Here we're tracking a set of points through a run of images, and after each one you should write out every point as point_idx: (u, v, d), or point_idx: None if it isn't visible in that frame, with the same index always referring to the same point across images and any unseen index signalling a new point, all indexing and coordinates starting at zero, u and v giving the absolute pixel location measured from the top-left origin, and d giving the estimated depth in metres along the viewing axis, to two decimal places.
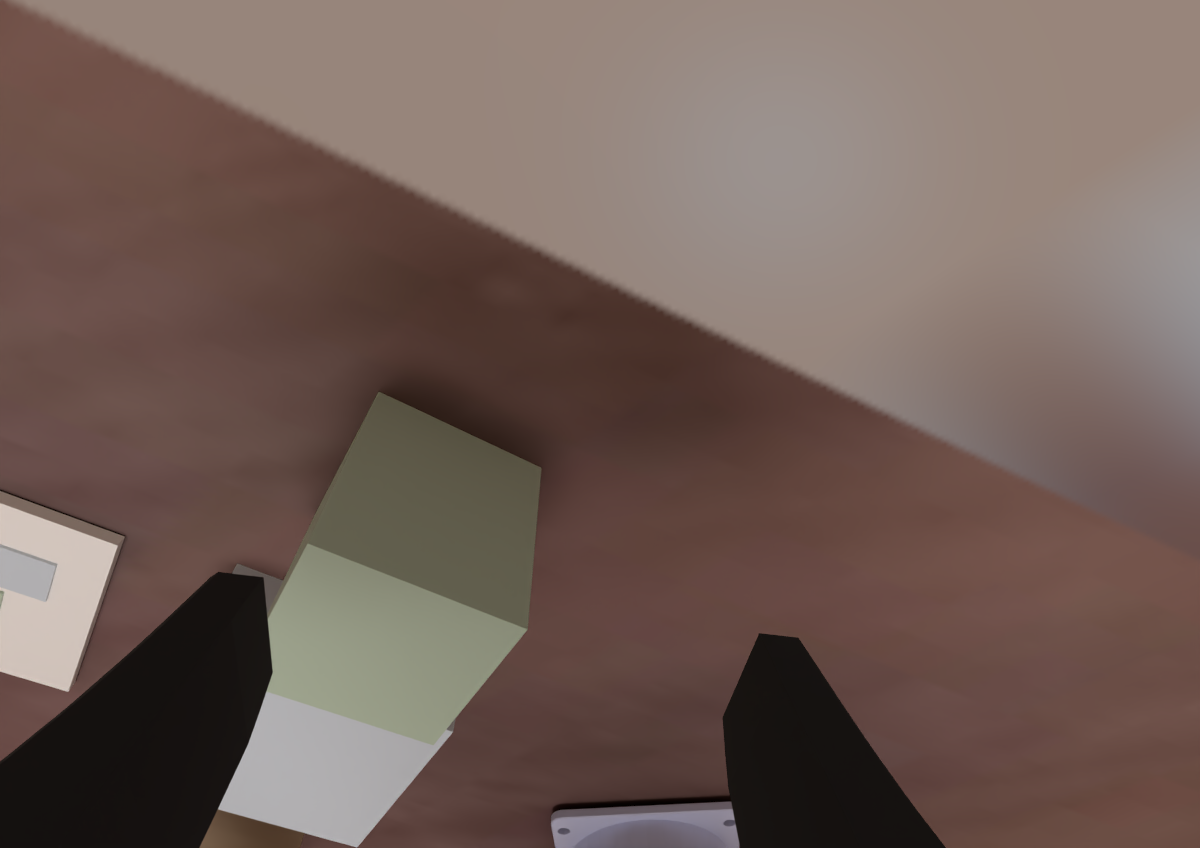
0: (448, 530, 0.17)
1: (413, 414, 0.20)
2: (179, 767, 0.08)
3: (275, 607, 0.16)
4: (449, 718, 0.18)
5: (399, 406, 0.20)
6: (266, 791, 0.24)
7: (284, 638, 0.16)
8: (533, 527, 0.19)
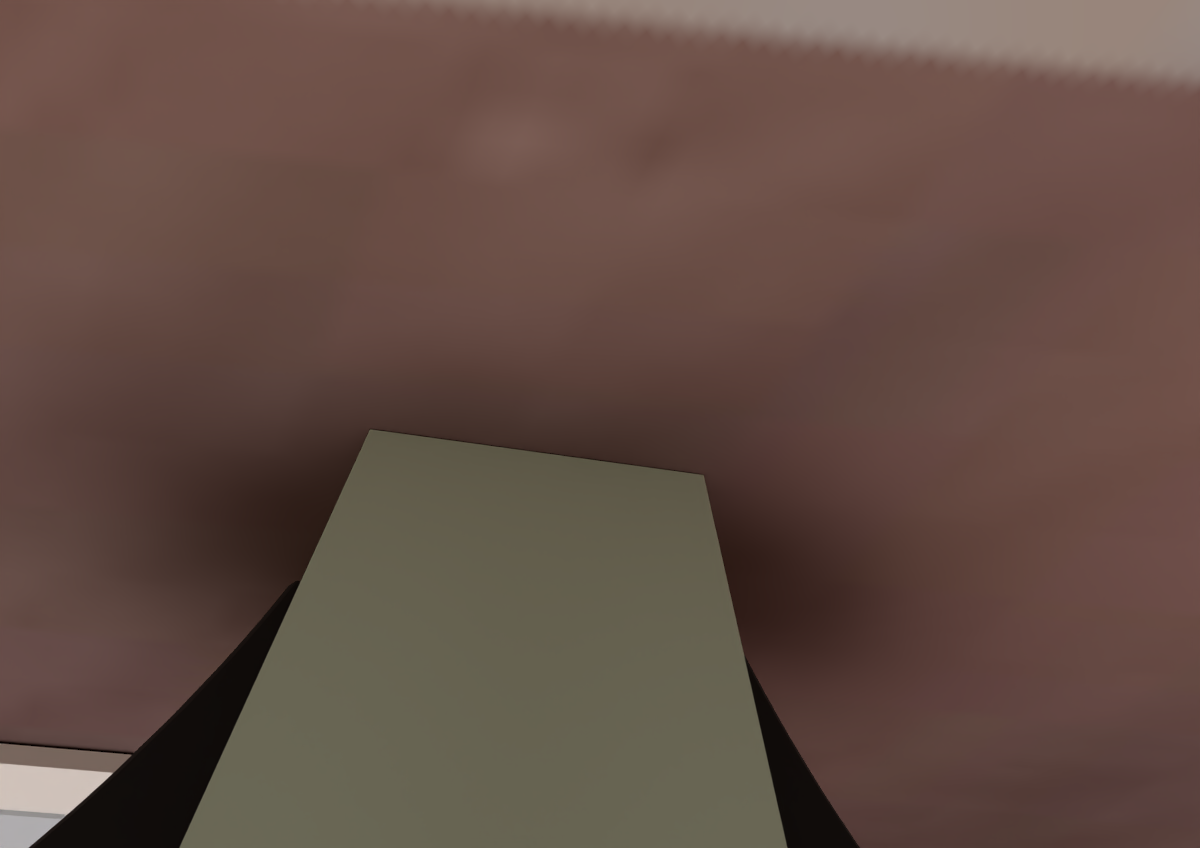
0: (544, 683, 0.07)
1: (440, 452, 0.10)
2: None
3: None
4: None
5: (411, 446, 0.10)
6: None
7: None
8: (726, 606, 0.09)
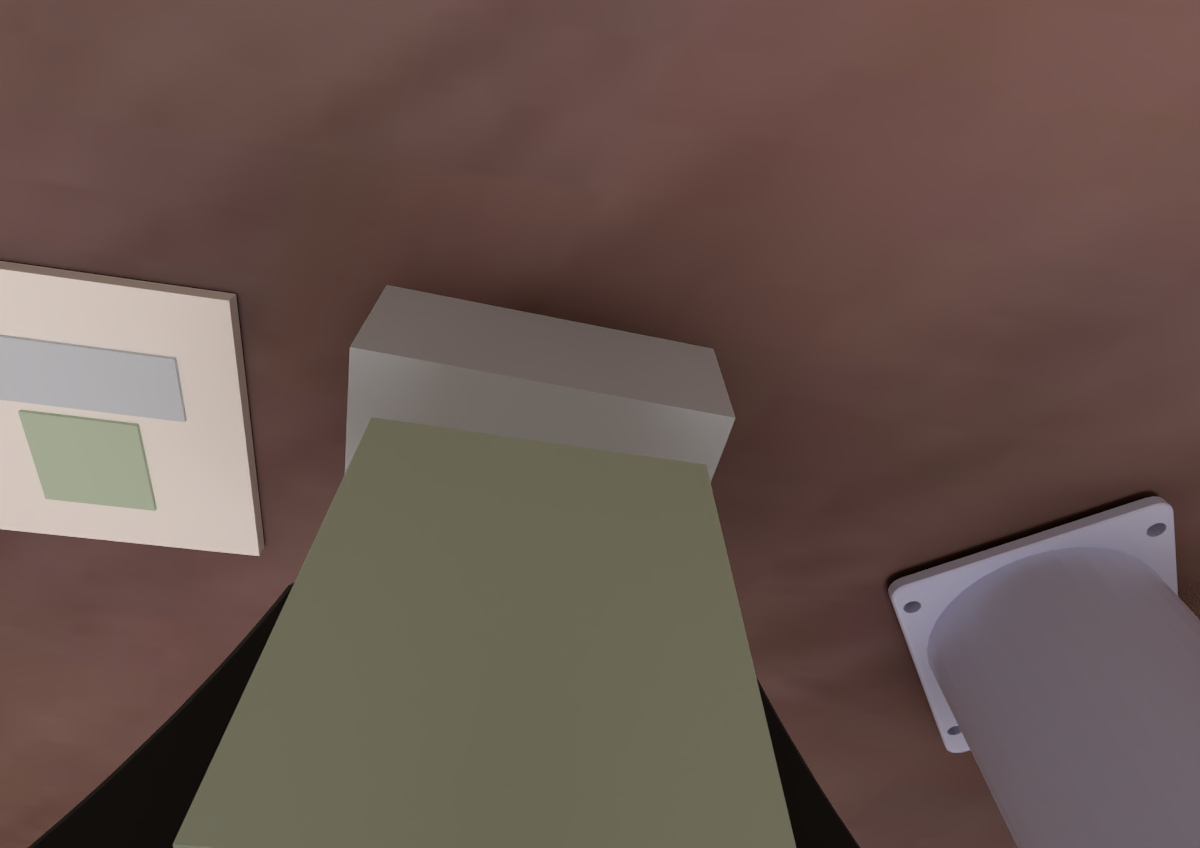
0: (548, 667, 0.07)
1: (442, 440, 0.10)
2: None
3: None
4: None
5: (413, 433, 0.10)
6: None
7: None
8: (730, 594, 0.09)
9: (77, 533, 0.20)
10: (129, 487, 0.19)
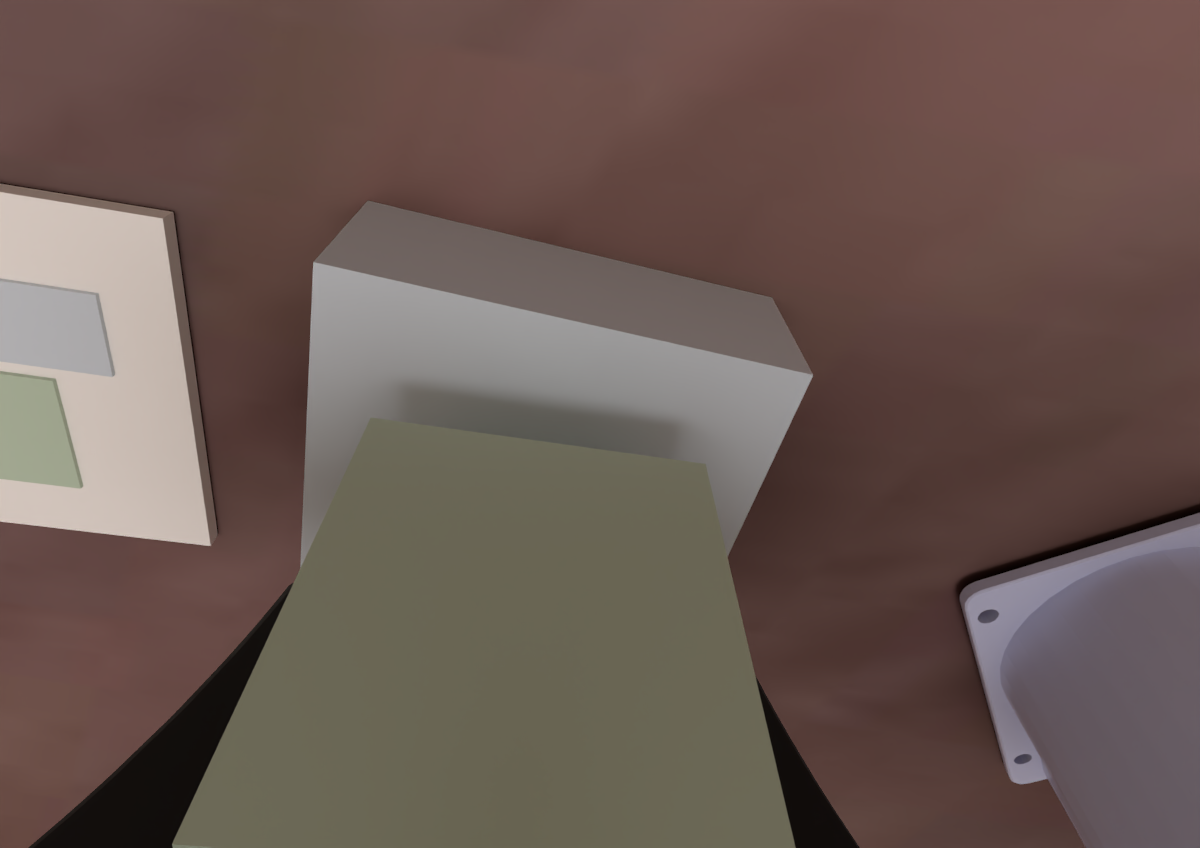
0: (547, 667, 0.07)
1: (441, 440, 0.10)
2: None
3: None
4: None
5: (412, 433, 0.10)
6: None
7: None
8: (728, 593, 0.09)
9: None
10: (48, 458, 0.16)
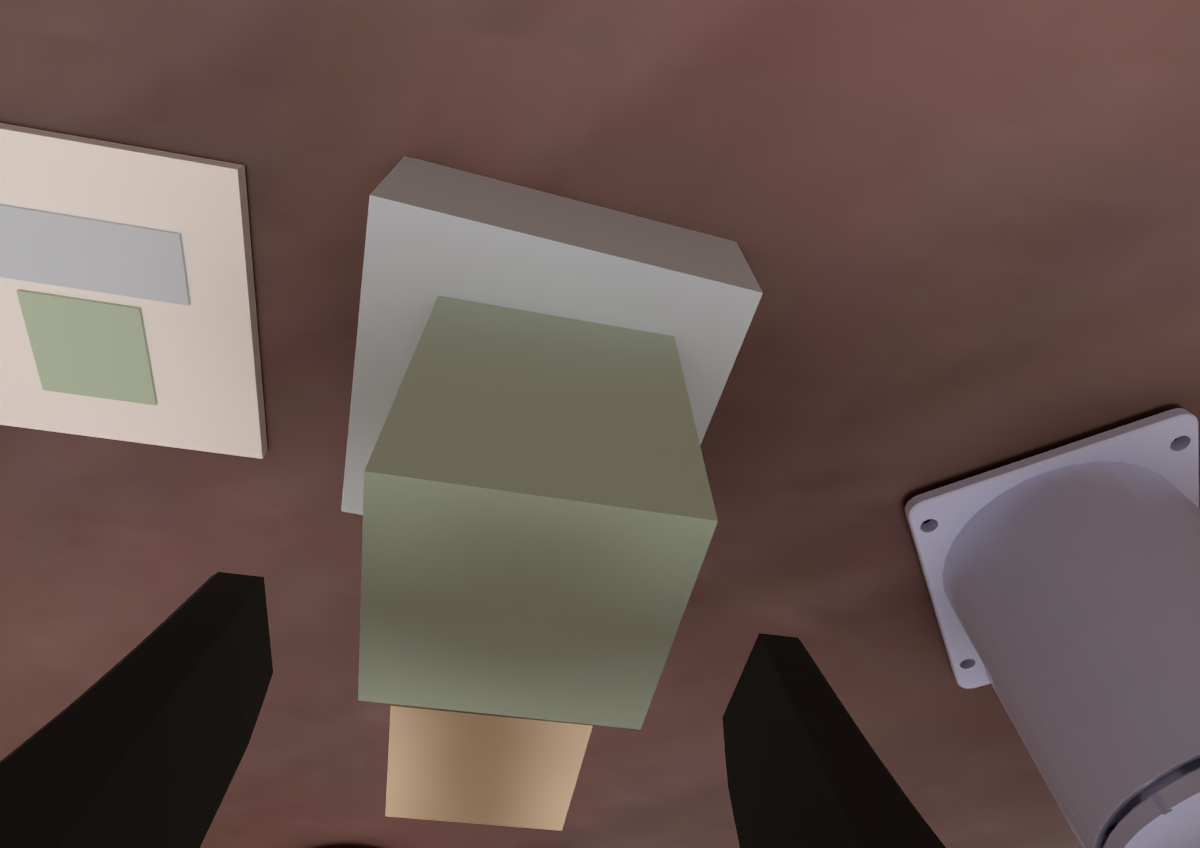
0: (566, 423, 0.12)
1: (488, 311, 0.15)
2: (179, 767, 0.08)
3: (363, 582, 0.11)
4: (649, 686, 0.12)
5: (468, 306, 0.15)
6: None
7: (393, 623, 0.12)
8: (684, 400, 0.13)
9: (75, 430, 0.20)
10: (130, 377, 0.19)
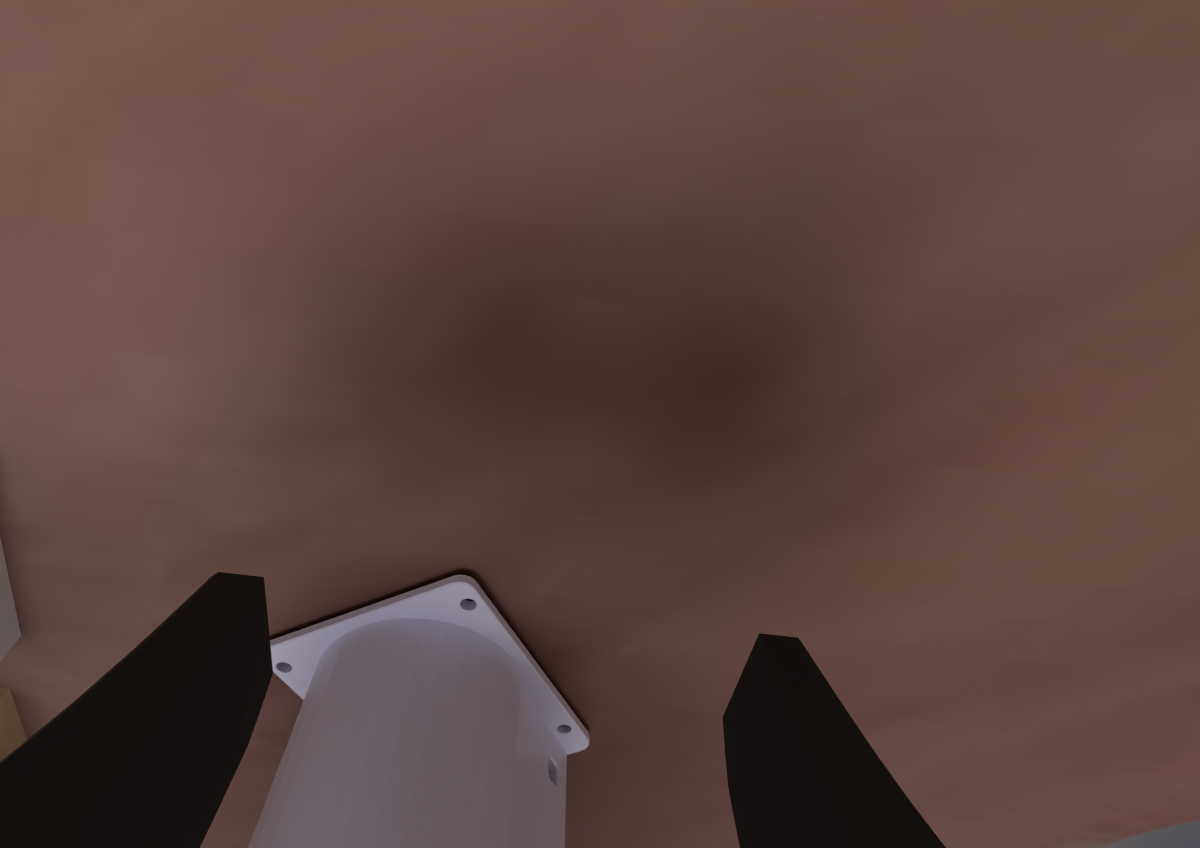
0: None
1: None
2: (179, 767, 0.08)
3: None
4: None
5: None
6: None
7: None
8: None
9: None
10: None
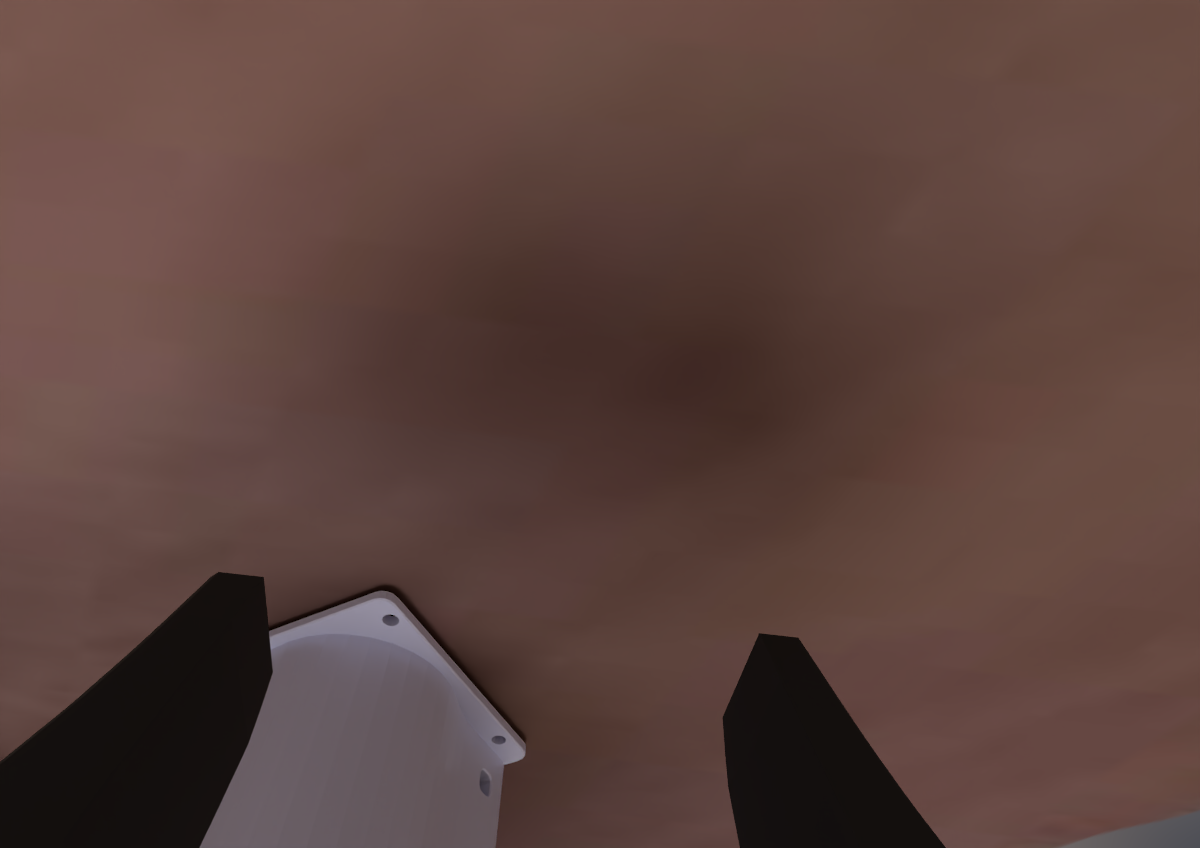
0: None
1: None
2: (180, 766, 0.08)
3: None
4: None
5: None
6: None
7: None
8: None
9: None
10: None
